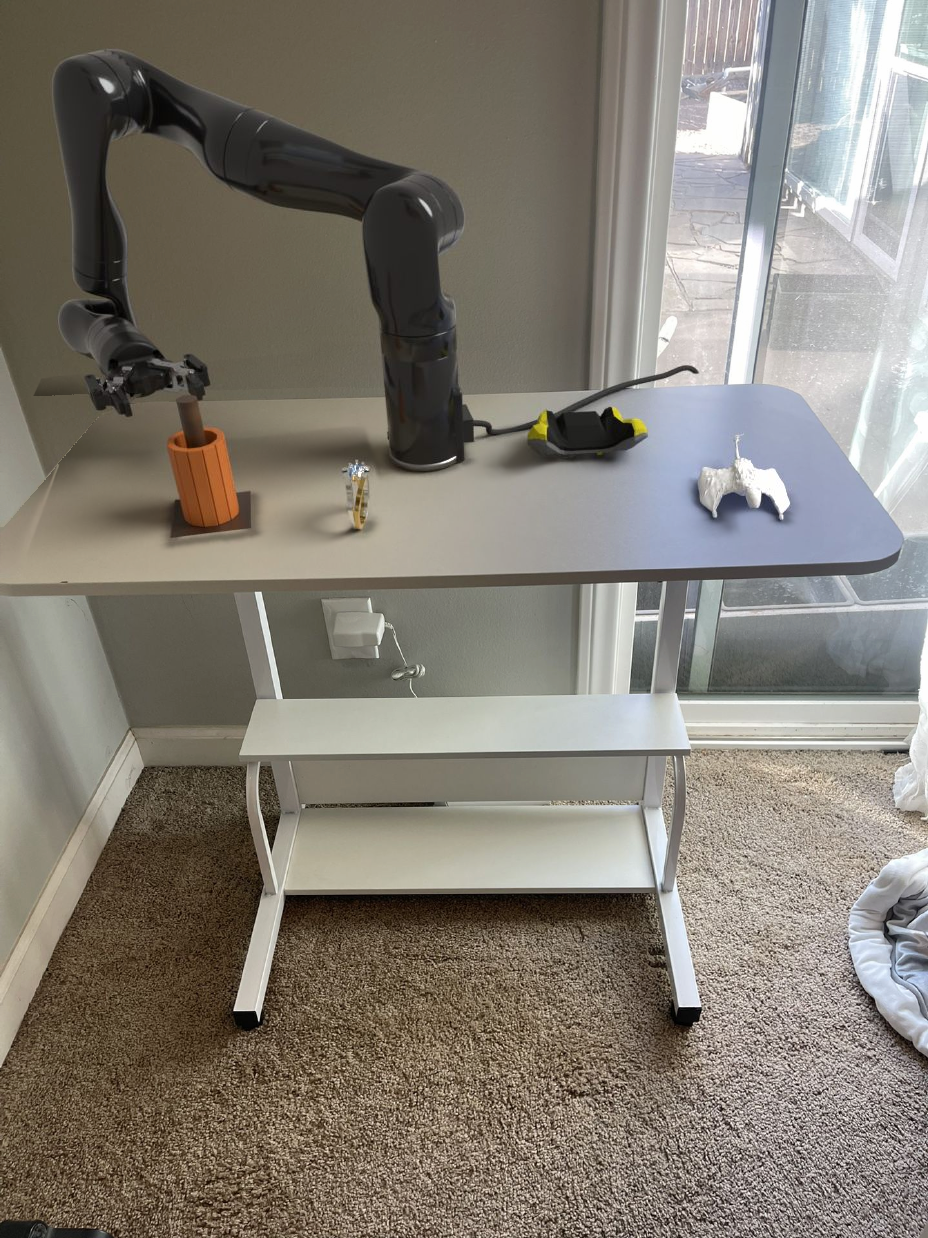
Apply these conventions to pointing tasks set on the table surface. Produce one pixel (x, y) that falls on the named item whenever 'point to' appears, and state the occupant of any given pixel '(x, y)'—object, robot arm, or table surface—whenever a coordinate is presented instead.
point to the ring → (362, 495)
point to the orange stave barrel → (204, 479)
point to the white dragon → (741, 484)
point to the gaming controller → (585, 433)
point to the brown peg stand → (195, 440)
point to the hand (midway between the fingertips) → (164, 400)
